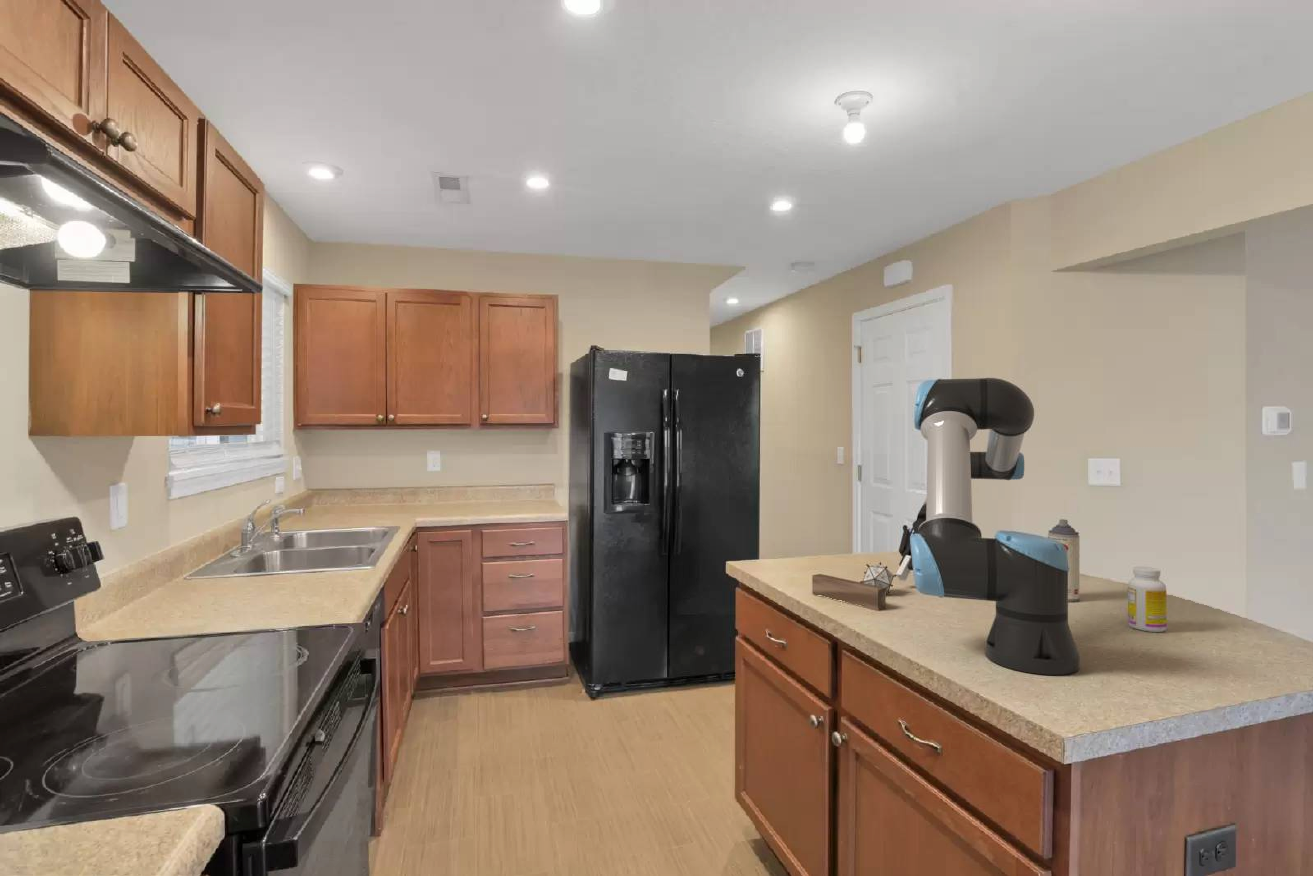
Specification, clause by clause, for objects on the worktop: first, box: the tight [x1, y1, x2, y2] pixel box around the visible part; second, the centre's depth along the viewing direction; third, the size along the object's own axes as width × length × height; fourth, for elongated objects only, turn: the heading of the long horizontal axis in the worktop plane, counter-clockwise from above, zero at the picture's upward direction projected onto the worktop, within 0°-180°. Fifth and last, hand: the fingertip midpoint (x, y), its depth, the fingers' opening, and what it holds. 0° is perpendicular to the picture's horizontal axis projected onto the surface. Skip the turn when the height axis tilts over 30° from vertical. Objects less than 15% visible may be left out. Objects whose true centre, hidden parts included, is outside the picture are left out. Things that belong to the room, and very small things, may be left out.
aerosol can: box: [1047, 518, 1080, 603], centre depth 168 cm, size 7×7×20 cm
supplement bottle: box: [1127, 566, 1168, 633], centre depth 143 cm, size 7×7×13 cm
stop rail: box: [811, 573, 887, 611], centre depth 167 cm, size 3×20×5 cm, turn 36°
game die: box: [859, 561, 898, 594], centre depth 174 cm, size 9×8×10 cm
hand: (900, 577), depth 180 cm, fingers closed
